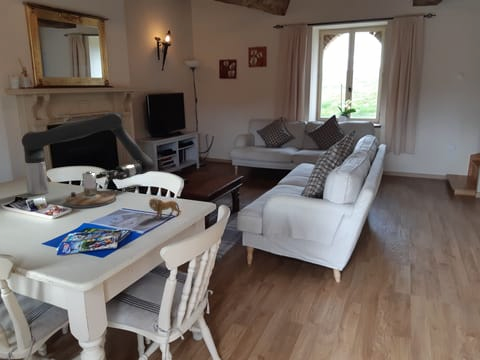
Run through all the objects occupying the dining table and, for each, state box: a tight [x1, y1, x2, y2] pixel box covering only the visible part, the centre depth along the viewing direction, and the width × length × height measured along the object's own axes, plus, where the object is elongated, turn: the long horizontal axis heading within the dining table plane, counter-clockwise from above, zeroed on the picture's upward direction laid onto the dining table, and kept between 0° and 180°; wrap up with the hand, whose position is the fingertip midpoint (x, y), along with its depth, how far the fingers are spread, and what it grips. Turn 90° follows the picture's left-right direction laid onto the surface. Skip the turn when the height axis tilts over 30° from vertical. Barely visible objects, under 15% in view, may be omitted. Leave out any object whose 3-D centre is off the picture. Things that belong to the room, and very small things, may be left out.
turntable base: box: [64, 195, 117, 209], centre depth 186 cm, size 24×24×1 cm
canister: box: [81, 171, 98, 199], centre depth 184 cm, size 7×7×13 cm
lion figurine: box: [148, 197, 182, 219], centre depth 163 cm, size 15×5×9 cm, turn 122°
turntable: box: [65, 190, 116, 206], centre depth 185 cm, size 23×23×3 cm
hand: (102, 177), depth 190 cm, fingers open, 8 cm apart
